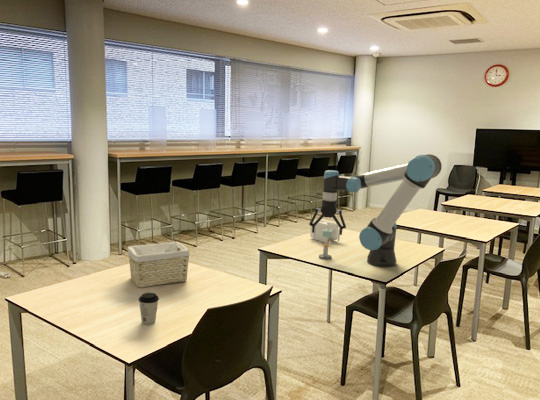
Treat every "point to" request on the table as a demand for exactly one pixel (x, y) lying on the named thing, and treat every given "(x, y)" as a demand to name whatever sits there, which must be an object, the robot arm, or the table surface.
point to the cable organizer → (325, 225)
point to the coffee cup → (148, 308)
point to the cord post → (325, 250)
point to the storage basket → (158, 263)
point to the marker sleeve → (326, 233)
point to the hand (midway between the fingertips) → (326, 239)
